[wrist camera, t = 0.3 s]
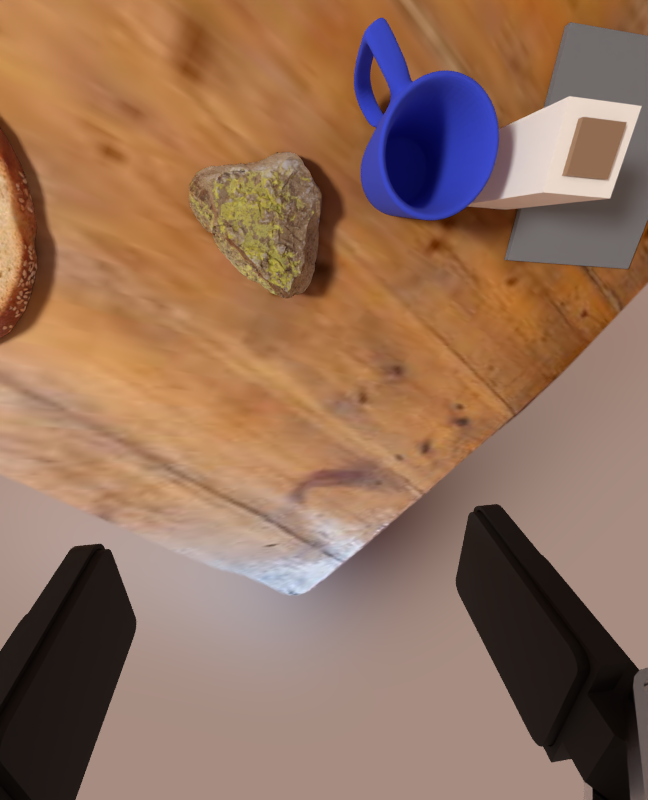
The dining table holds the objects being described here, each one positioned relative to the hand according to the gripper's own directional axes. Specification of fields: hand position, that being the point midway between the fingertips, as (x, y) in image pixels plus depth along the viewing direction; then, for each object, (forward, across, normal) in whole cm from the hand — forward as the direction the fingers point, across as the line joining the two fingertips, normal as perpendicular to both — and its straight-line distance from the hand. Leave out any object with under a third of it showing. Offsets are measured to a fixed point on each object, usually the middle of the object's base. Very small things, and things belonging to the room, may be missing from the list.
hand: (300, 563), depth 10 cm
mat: (+30, -31, -14) cm, 45 cm away
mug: (+30, -10, -14) cm, 35 cm away
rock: (+31, +1, -9) cm, 32 cm away
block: (+30, -20, -13) cm, 38 cm away
